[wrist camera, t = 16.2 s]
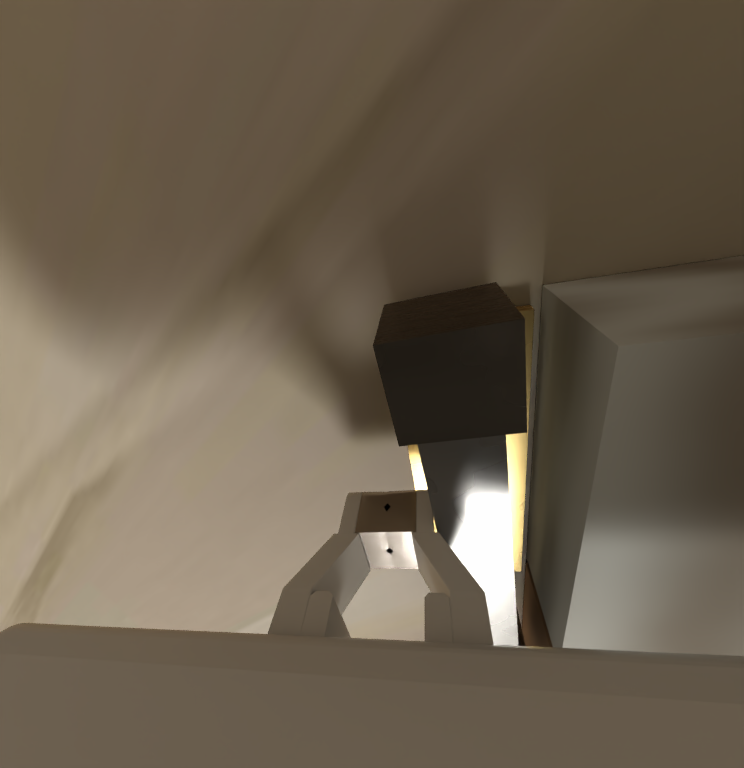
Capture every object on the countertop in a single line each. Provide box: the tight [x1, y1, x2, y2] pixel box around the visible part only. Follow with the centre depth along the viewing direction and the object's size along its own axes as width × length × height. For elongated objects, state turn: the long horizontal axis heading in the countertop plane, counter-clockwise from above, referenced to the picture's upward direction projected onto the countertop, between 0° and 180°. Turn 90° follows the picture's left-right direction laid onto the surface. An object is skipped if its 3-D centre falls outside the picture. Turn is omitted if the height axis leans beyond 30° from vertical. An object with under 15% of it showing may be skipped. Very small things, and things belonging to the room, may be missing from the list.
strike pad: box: [408, 305, 534, 571], centre depth 12 cm, size 4×12×1 cm, turn 11°
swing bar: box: [373, 282, 527, 646], centre depth 11 cm, size 17×3×3 cm, turn 14°
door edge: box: [522, 256, 744, 656], centre depth 11 cm, size 8×20×4 cm, turn 11°
